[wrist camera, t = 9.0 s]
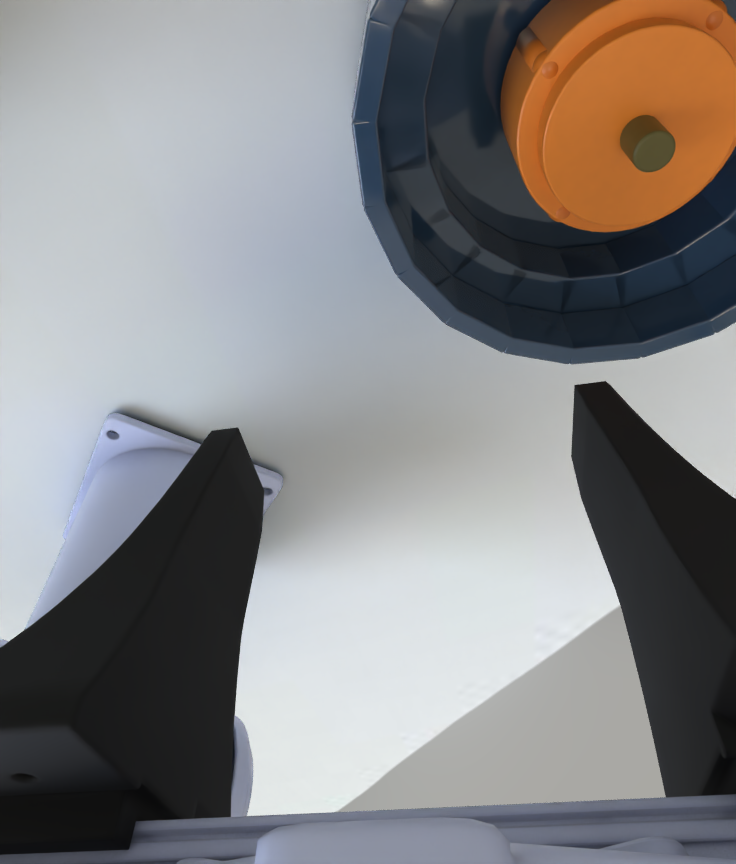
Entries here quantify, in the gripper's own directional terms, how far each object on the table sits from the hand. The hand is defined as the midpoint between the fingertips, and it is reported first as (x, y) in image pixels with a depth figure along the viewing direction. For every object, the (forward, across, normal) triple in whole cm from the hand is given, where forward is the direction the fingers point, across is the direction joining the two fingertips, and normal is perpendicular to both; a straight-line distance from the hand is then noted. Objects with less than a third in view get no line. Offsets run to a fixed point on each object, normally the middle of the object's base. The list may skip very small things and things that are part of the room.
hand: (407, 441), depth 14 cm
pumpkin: (+10, -6, -4) cm, 12 cm away
